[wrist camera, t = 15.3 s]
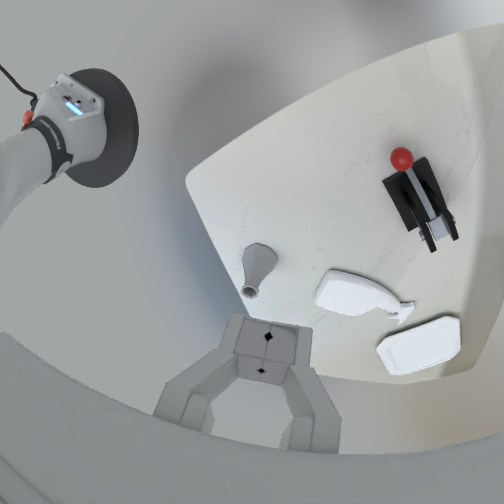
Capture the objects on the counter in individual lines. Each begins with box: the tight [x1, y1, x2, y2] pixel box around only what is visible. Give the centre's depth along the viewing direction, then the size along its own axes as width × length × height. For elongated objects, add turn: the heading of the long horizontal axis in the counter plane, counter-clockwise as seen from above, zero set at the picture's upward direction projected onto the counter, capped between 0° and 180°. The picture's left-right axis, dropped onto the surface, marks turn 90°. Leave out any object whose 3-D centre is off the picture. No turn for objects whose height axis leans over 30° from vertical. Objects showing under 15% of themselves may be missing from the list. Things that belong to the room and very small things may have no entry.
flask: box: [241, 243, 278, 299], centre depth 52 cm, size 7×7×10 cm
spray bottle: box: [314, 270, 415, 325], centre depth 56 cm, size 3×11×24 cm
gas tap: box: [382, 157, 459, 253], centre depth 35 cm, size 11×9×13 cm
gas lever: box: [390, 147, 448, 240], centre depth 33 cm, size 14×4×4 cm
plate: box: [376, 316, 461, 375], centre depth 63 cm, size 25×25×2 cm
